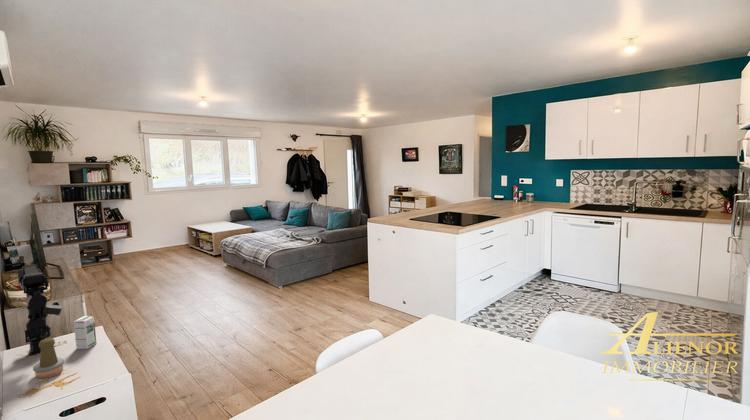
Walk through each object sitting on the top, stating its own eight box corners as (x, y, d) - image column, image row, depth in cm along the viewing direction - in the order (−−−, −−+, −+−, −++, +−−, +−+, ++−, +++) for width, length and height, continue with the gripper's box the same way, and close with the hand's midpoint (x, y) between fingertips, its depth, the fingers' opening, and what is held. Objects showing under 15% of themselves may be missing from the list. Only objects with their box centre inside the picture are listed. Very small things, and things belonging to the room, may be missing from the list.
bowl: (36, 372, 158) (35, 364, 158) (63, 365, 164) (62, 357, 164) (34, 381, 151) (33, 373, 151) (63, 374, 157) (62, 366, 157)
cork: (59, 363, 158) (57, 338, 157) (41, 369, 153) (38, 344, 152) (55, 358, 161) (53, 334, 160) (37, 364, 157) (35, 340, 155)
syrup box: (87, 349, 178) (85, 320, 177) (75, 348, 178) (73, 320, 177) (96, 343, 184) (94, 316, 182) (85, 343, 184) (82, 315, 182)
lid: (34, 364, 158) (33, 362, 158) (64, 357, 164) (64, 355, 164) (32, 374, 150) (31, 372, 150) (63, 366, 157) (63, 364, 156)
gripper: (59, 304, 160) (62, 337, 162) (60, 292, 175) (63, 323, 176) (24, 310, 153) (28, 345, 155) (28, 297, 168) (31, 330, 169)
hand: (39, 335), depth 164 cm, fingers open, 9 cm apart
